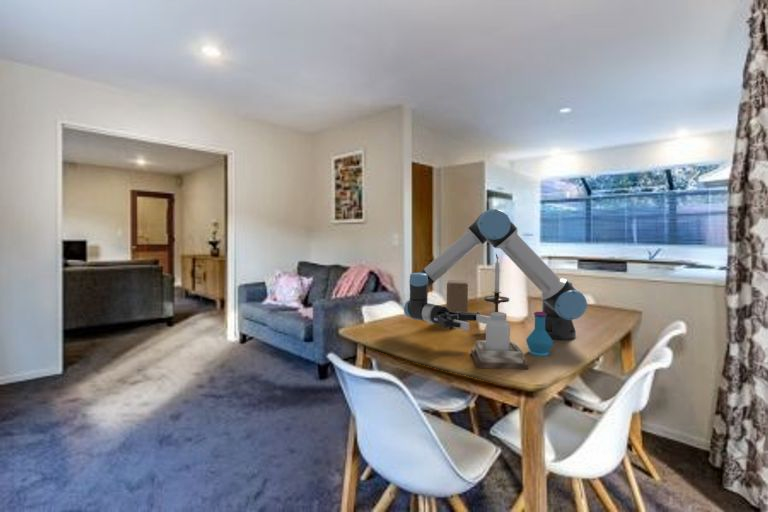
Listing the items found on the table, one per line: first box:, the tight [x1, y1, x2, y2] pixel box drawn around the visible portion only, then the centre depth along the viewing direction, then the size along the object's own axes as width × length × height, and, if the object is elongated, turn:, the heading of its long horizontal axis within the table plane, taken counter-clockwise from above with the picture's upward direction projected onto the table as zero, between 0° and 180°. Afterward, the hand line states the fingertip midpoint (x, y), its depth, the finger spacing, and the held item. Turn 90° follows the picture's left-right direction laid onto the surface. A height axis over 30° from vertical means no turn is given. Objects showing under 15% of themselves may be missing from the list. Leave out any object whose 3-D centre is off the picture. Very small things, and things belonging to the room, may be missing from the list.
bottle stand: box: [470, 340, 529, 370], centre depth 136 cm, size 16×16×5 cm
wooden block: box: [446, 279, 469, 322], centre depth 194 cm, size 10×10×20 cm
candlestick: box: [484, 253, 510, 312], centre depth 178 cm, size 11×11×35 cm
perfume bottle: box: [525, 311, 554, 357], centre depth 144 cm, size 9×9×15 cm
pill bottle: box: [485, 311, 511, 351], centre depth 136 cm, size 8×8×15 cm
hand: (480, 323), depth 141 cm, fingers open, 13 cm apart
